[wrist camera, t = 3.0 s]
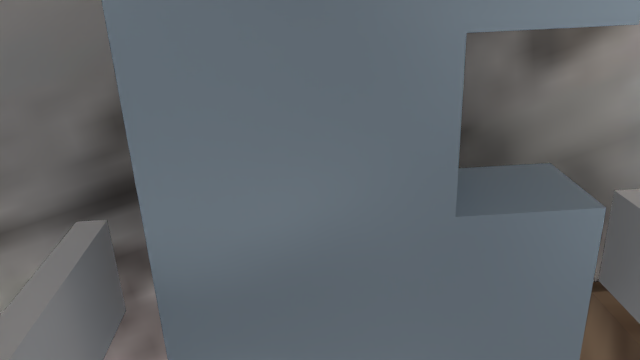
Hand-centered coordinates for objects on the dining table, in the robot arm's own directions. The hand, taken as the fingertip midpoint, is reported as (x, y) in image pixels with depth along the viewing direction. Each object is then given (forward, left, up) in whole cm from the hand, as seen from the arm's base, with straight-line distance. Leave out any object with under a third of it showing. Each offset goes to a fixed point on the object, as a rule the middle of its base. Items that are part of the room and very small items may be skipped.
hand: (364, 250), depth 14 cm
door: (0, 0, +1) cm, 1 cm away
